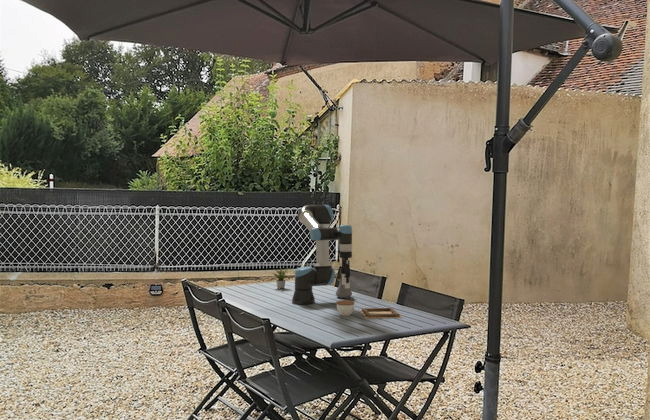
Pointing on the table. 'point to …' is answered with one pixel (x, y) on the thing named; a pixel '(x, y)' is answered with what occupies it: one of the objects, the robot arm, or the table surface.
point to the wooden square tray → (379, 313)
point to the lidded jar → (345, 307)
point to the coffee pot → (343, 290)
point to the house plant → (280, 278)
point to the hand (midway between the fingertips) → (345, 286)
